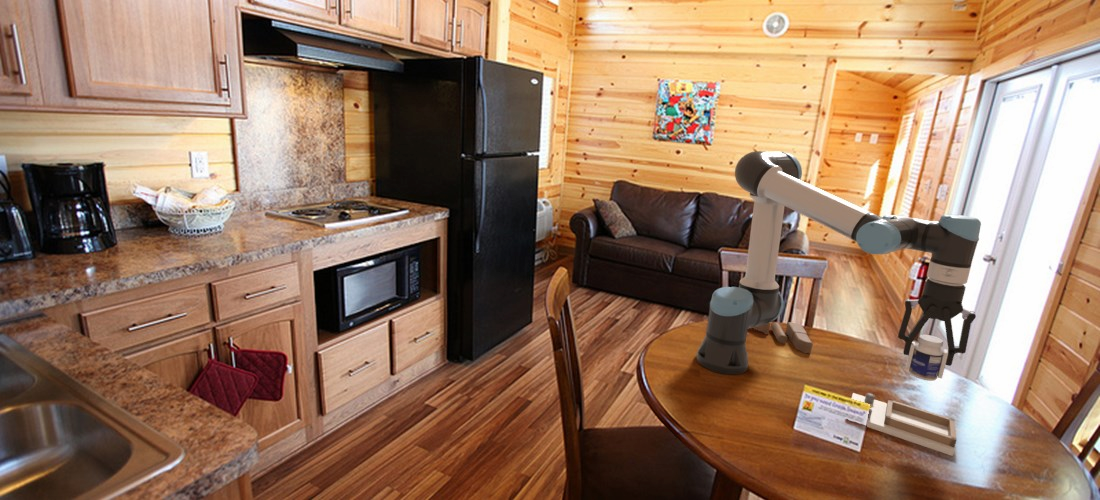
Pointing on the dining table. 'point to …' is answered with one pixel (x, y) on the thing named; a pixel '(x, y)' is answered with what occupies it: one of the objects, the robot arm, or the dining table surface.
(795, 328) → the wooden block set
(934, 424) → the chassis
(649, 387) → the dining table surface
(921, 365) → the pill bottle
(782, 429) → the dining table surface
